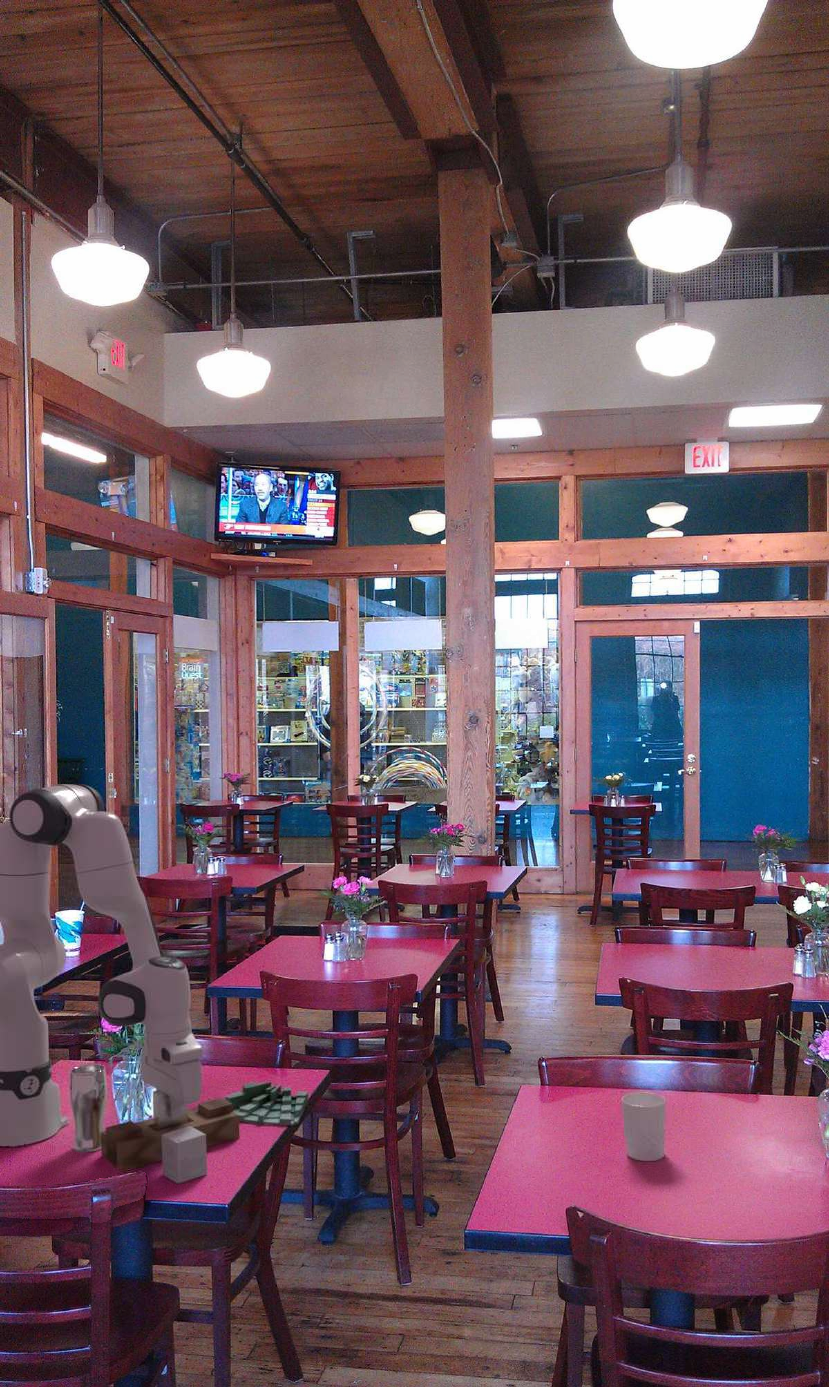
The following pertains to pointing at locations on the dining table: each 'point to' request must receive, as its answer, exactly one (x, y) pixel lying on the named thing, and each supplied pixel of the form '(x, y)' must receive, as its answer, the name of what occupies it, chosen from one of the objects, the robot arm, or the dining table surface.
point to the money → (268, 1104)
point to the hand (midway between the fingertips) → (170, 1114)
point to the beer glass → (88, 1105)
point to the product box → (184, 1154)
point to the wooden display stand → (144, 1144)
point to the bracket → (166, 1112)
